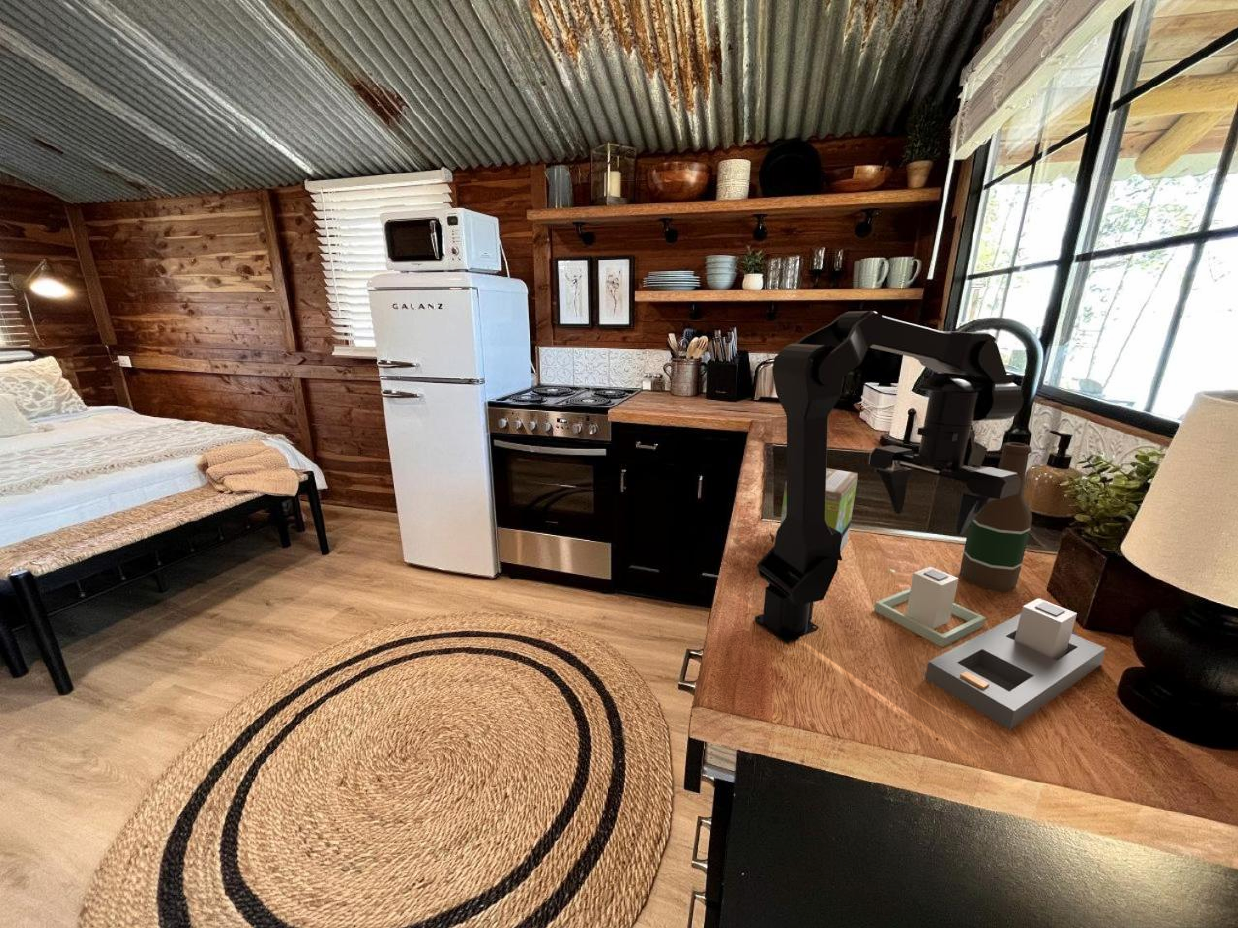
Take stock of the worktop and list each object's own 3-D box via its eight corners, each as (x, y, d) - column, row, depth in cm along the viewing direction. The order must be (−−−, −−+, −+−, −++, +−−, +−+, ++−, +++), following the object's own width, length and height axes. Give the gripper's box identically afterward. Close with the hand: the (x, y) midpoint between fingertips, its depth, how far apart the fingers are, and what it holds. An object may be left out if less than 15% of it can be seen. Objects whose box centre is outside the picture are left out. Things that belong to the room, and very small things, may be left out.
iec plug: (933, 629, 70) (942, 583, 68) (905, 615, 73) (913, 571, 71) (949, 621, 72) (958, 577, 70) (922, 608, 75) (930, 565, 73)
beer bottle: (1015, 580, 84) (1048, 442, 78) (1015, 600, 78) (1052, 453, 72) (960, 567, 89) (987, 436, 82) (957, 585, 83) (985, 445, 76)
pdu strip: (1008, 734, 53) (1014, 708, 52) (924, 682, 61) (928, 659, 60) (1109, 660, 64) (1116, 638, 63) (1028, 625, 72) (1033, 604, 71)
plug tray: (941, 651, 66) (944, 637, 66) (873, 613, 75) (875, 602, 74) (982, 629, 71) (985, 617, 70) (914, 596, 79) (916, 585, 79)
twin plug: (1047, 671, 61) (1062, 620, 59) (1011, 653, 65) (1023, 604, 63) (1063, 661, 63) (1077, 611, 61) (1026, 644, 67) (1038, 596, 65)
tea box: (831, 571, 88) (841, 492, 84) (775, 556, 93) (782, 481, 89) (849, 541, 99) (859, 470, 95) (798, 530, 105) (805, 462, 101)
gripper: (1052, 429, 67) (1024, 536, 71) (915, 408, 83) (899, 497, 87) (1012, 437, 62) (985, 551, 66) (874, 413, 77) (859, 507, 82)
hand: (927, 523), depth 75 cm, fingers open, 9 cm apart
